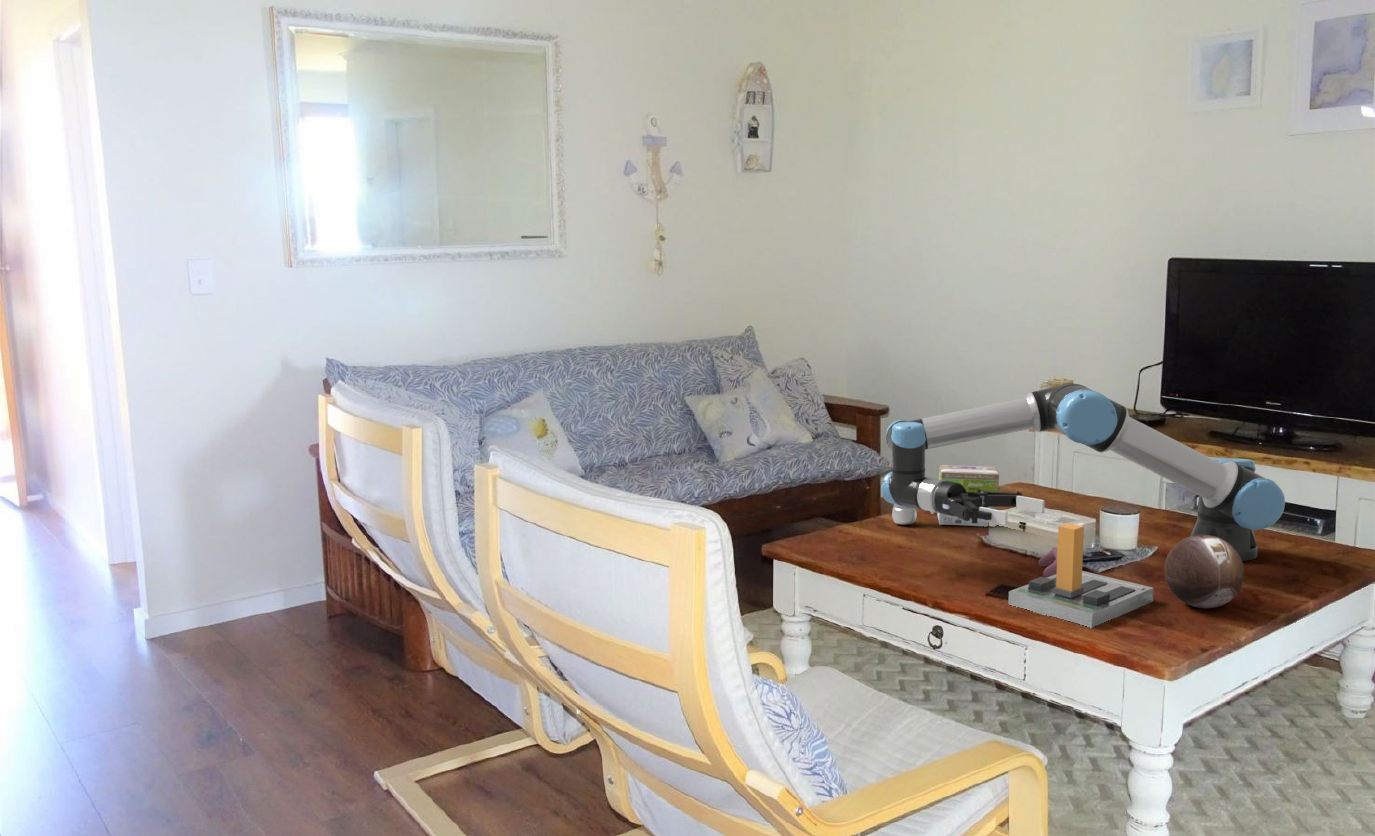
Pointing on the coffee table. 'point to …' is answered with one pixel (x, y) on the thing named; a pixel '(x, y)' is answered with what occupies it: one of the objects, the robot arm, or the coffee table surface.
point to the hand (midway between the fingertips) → (1025, 512)
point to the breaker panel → (1082, 599)
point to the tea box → (969, 487)
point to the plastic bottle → (904, 515)
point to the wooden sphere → (1204, 571)
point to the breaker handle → (1069, 560)
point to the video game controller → (1049, 562)
